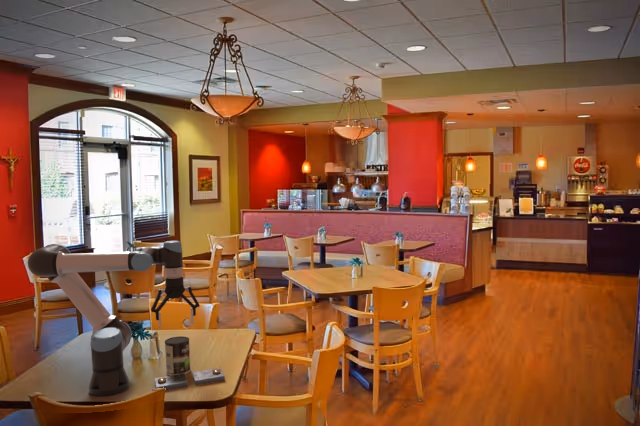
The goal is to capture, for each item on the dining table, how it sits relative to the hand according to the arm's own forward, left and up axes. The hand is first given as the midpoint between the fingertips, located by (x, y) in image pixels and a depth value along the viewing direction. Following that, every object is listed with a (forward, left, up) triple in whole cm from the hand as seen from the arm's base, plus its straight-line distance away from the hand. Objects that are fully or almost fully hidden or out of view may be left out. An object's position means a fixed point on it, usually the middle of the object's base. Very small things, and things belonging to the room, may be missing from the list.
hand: (176, 325), depth 229 cm
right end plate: (+10, -14, -20) cm, 27 cm away
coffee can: (0, 0, -21) cm, 21 cm away
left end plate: (-5, -14, -20) cm, 25 cm away
